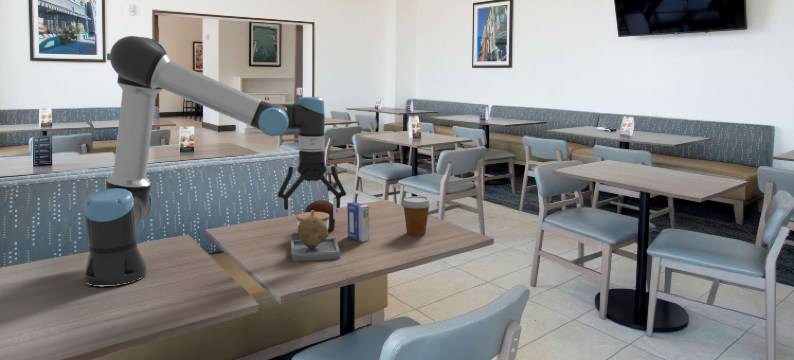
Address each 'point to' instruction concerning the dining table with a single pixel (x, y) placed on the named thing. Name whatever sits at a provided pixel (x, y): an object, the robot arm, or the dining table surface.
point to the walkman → (358, 221)
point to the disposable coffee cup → (416, 214)
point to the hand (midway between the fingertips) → (312, 219)
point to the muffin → (323, 207)
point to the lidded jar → (320, 215)
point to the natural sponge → (312, 231)
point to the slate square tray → (315, 250)
